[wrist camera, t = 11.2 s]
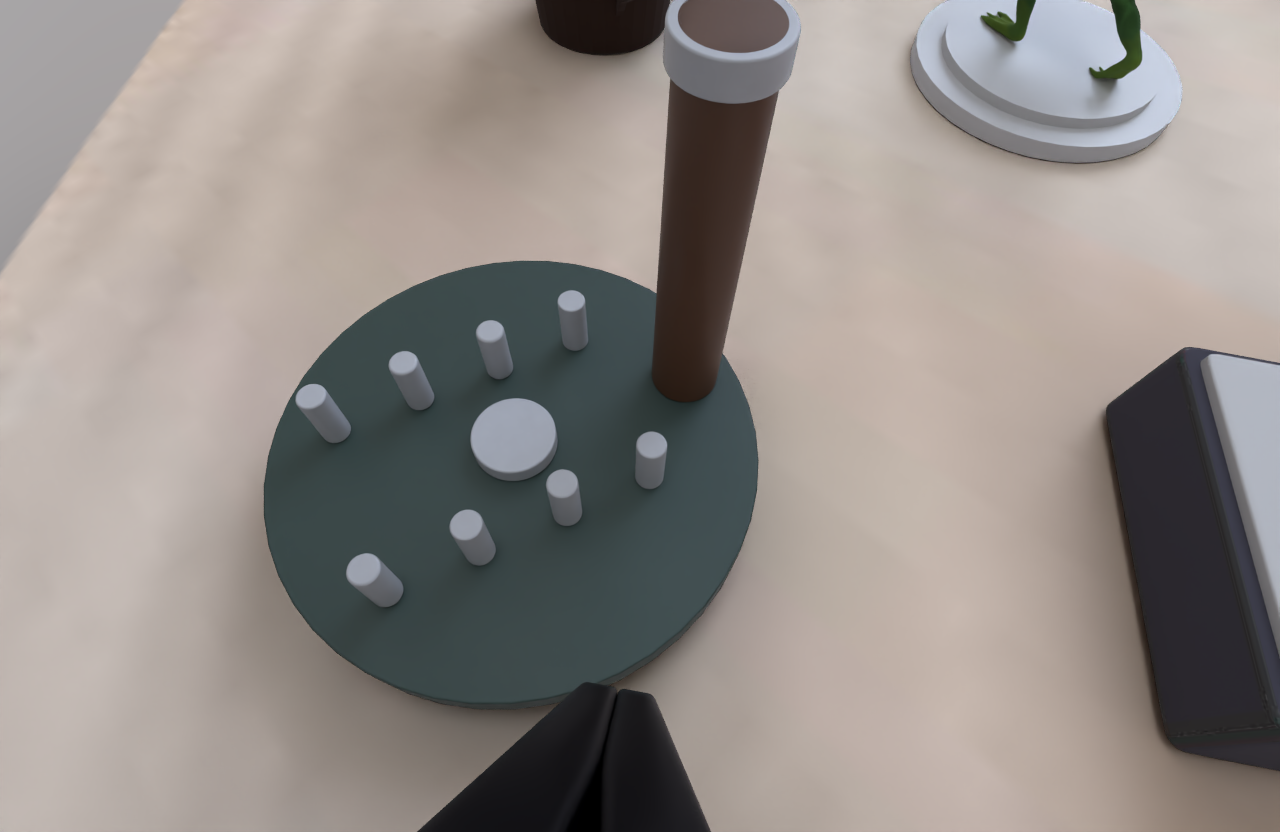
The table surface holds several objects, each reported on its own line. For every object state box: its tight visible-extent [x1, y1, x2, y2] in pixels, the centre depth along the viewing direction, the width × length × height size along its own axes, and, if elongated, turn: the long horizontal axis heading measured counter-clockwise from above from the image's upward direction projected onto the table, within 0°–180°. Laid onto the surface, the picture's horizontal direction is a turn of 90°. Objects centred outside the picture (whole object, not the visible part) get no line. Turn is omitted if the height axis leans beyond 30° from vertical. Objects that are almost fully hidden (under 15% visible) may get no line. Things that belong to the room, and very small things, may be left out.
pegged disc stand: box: [264, 0, 801, 709], centre depth 16 cm, size 14×14×12 cm
